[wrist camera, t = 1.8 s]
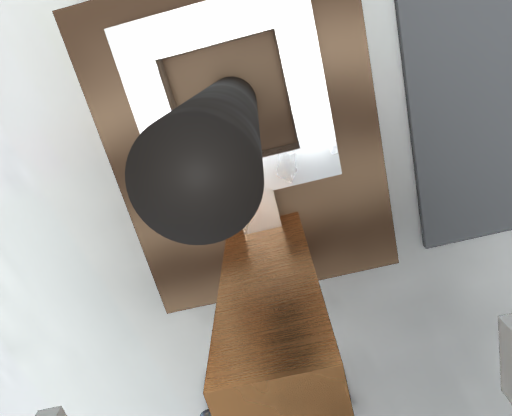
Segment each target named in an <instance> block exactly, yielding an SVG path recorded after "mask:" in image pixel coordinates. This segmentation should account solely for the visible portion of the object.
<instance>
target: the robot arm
mask: <svg viewBox="0 0 512 416" xmlns="http://www.w3.org/2000/svg"><path fill="white" fill-rule="evenodd" d="M498 330H499V353H500V375H501V390H502V392H503V393H504V395H505V396H506V397H507V399H508V400H509V401H510V403H511V404H512V313H511V314H506V315H501V316H498ZM35 416H67V415H66V413H65V411H64V410H63V408H62V406H58V407H53V408H48V409H44V410H39V411H38V412H37V413H36V415H35Z"/></svg>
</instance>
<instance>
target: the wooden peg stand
mask: <svg viewBox="0 0 512 416" xmlns="http://www.w3.org/2000/svg"><path fill="white" fill-rule="evenodd" d="M203 1H207V0H90V1H86V2H83V3H79V4H76V5H72V6H69V7H65V8H62V9H58V10H54V11H52V12H53V14H54V17H55V20H56V22H57V25H58V28H59V30H60V33H61V36H62V38H63V41H64V43H65V46H66V49H67V51H68V54H69V57H70V59H71V62H72V65H73V67H74V70H75V72H76V75H77V78H78V80H79V83H80V86H81V88H82V91H83V94H84V96H85V99H86V101H87V104H88V107H89V109H90V112H91V115H92V117H93V120H94V123H95V125H96V128H97V130H98V133H99V136H100V138H101V141H102V144H103V146H104V149H105V152H106V154H107V157H108V159H109V162H110V165H111V167H112V170H113V173H114V175H115V178H116V180H117V183H118V186H119V188H120V191H121V194H122V196H123V199H124V202H125V204H126V207H127V209H128V212H129V215H130V217H131V220H132V223H133V225H134V228H135V231H136V233H137V236H138V238H139V241H140V244H141V246H142V249H143V252H144V254H145V257H146V260H147V262H148V265H149V267H150V270H151V273H152V275H153V278H154V281H155V283H156V286H157V289H158V291H159V294H160V296H161V299H162V302H163V304H164V307H165V310H166V312H167V314H168V313H173V312H177V311H182V310H186V309H191V308H195V307H200V306H204V305H209V304H214V303H217V296H218V289H219V282H220V276H221V269H222V262H223V255H224V249H225V242H226V239H228V238H230V237H232V236H234V235H235V234H237V233H238V232H239V231H241V230H242V229H243V228H244V227H245V226H246V225H247V224H248V223H249V222H250V221H251V219H252V218H253V217H254V215H255V214H256V212H257V210H258V208H259V205H260V203H261V200H262V196H263V192H264V170H263V160H262V151H265V150H269V149H273V148H277V147H281V146H285V145H289V144H293V143H297V140H296V135H295V131H294V126H293V121H292V117H291V112H290V107H289V103H288V98H287V93H286V89H285V84H284V79H283V75H282V70H281V65H280V61H279V56H278V52H277V47H276V42H275V38H274V33H273V30H272V31H268V32H264V33H260V34H257V35H253V36H249V37H246V38H242V39H238V40H234V41H231V42H227V43H223V44H219V45H216V46H212V47H208V48H205V49H201V50H197V51H193V52H190V53H186V54H182V55H179V56H175V57H171V58H167V59H164V60H162V62H163V65H164V69H165V72H166V75H167V78H168V82H169V85H170V88H171V91H172V95H173V98H174V101H175V104H176V108H175V109H173V110H172V111H170V112H169V113H167V114H166V115H164V116H162V117H161V118H159V119H158V120H156V121H155V122H153V123H152V124H150V125H149V126H148V127H147V128H146V129H145V130H143V131H142V132H141V134H140V132H139V129H138V127H137V124H136V121H135V118H134V115H133V112H132V109H131V106H130V103H129V100H128V98H127V95H126V92H125V89H124V86H123V83H122V80H121V77H120V74H119V72H118V69H117V66H116V63H115V60H114V57H113V54H112V51H111V48H110V45H109V43H108V40H107V37H106V34H105V31H104V29H106V28H110V27H113V26H117V25H120V24H124V23H128V22H131V21H135V20H138V19H142V18H146V17H149V16H153V15H156V14H160V13H164V12H167V11H171V10H174V9H178V8H182V7H185V6H189V5H192V4H196V3H200V2H203ZM311 5H312V11H313V16H314V22H315V27H316V33H317V38H318V44H319V49H320V55H321V60H322V66H323V71H324V77H325V82H326V88H327V93H328V99H329V104H330V110H331V115H332V121H333V126H334V132H335V137H336V143H337V148H338V154H339V159H340V165H341V170H342V174H340V175H336V176H332V177H328V178H323V179H319V180H315V181H311V182H307V183H302V184H298V185H294V186H290V187H286V188H281V189H277V190H274V193H275V197H276V201H277V205H278V209H279V213H280V216H282V215H286V214H290V213H294V212H298V214H299V217H300V221H301V224H302V227H303V231H304V234H305V238H306V241H307V244H308V248H309V251H310V255H311V258H312V261H313V265H314V268H315V272H316V275H317V278H318V280H323V279H327V278H332V277H337V276H341V275H346V274H350V273H355V272H359V271H364V270H368V269H373V268H378V267H382V266H387V265H391V264H396V263H399V260H398V253H397V246H396V239H395V232H394V225H393V218H392V211H391V204H390V197H389V190H388V183H387V176H386V169H385V163H384V156H383V149H382V142H381V135H380V128H379V121H378V114H377V107H376V100H375V93H374V86H373V79H372V72H371V65H370V58H369V51H368V44H367V37H366V30H365V23H364V17H363V10H362V3H361V0H311Z"/></svg>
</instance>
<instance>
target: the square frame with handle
mask: <svg viewBox="0 0 512 416" xmlns="http://www.w3.org/2000/svg"><path fill="white" fill-rule="evenodd" d="M272 30H273V33H274V38H275V42H276V47H277V52H278V56H279V61H280V65H281V70H282V75H283V79H284V84H285V89H286V93H287V98H288V103H289V107H290V112H291V117H292V121H293V126H294V131H295V135H296V140H297V143H293V144H289V145H285V146H281V147H277V148H273V149H269V150H265V151H262V160H263V170H264V192H263V196H262V200H261V203H260V205H259V208H258V210H257V212H256V214H255V215H254V217H253V218H252V219H251V221H250V222H249V223H248V224H247V225H246V226H245V227H244V228H243V229H242V230H241V231H239V232H238V233H237V234H235V235H234V236H232V237H230V238H228V239H226V242H225V249H224V255H223V262H222V269H221V276H220V282H219V289H218V296H217V303H216V310H215V316H214V323H213V330H212V337H211V344H210V350H209V357H208V364H207V371H206V377H205V384H204V391H203V394H204V397H205V400H206V402H207V405H208V408H209V411H210V413H211V416H354V413H353V409H352V404H351V399H350V395H349V390H348V386H347V381H346V376H345V372H344V367H343V363H342V360H341V356H340V353H339V350H338V346H337V343H336V339H335V336H334V333H333V329H332V326H331V322H330V319H329V316H328V312H327V309H326V305H325V302H324V299H323V295H322V292H321V289H320V285H319V282H318V278H317V275H316V272H315V268H314V265H313V261H312V258H311V255H310V251H309V248H308V244H307V241H306V238H305V234H304V231H303V227H302V224H301V221H300V217H299V214H298V212H294V213H290V214H286V215H282V216H280V213H279V209H278V205H277V201H276V197H275V193H274V190H277V189H281V188H286V187H290V186H294V185H298V184H302V183H307V182H311V181H315V180H319V179H323V178H328V177H332V176H336V175H340V174H342V170H341V165H340V159H339V154H338V148H337V143H336V137H335V132H334V126H333V121H332V115H331V110H330V104H329V99H328V93H327V88H326V82H325V77H324V71H323V66H322V60H321V55H320V49H319V44H318V38H317V33H316V27H315V22H314V16H313V11H312V5H311V0H207V1H203V2H200V3H196V4H192V5H189V6H185V7H182V8H178V9H174V10H171V11H167V12H164V13H160V14H156V15H153V16H149V17H146V18H142V19H138V20H135V21H131V22H128V23H124V24H120V25H117V26H113V27H110V28H106V29H104V31H105V34H106V37H107V40H108V43H109V45H110V48H111V51H112V54H113V57H114V60H115V63H116V66H117V69H118V72H119V74H120V77H121V80H122V83H123V86H124V89H125V92H126V95H127V98H128V100H129V103H130V106H131V109H132V112H133V115H134V118H135V121H136V124H137V127H138V129H139V132H140V134H141V132H142V131H143V130H145V129H146V128H147V127H148V126H149V125H150V124H152V123H153V122H155V121H156V120H158V119H159V118H161V117H162V116H164V115H166V114H167V113H169V112H170V111H172V110H173V109H175V108H176V104H175V101H174V98H173V95H172V91H171V88H170V85H169V82H168V78H167V75H166V72H165V69H164V65H163V62H162V60H164V59H167V58H171V57H175V56H179V55H182V54H186V53H190V52H193V51H197V50H201V49H205V48H208V47H212V46H216V45H219V44H223V43H227V42H231V41H234V40H238V39H242V38H246V37H249V36H253V35H257V34H260V33H264V32H268V31H272Z"/></svg>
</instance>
